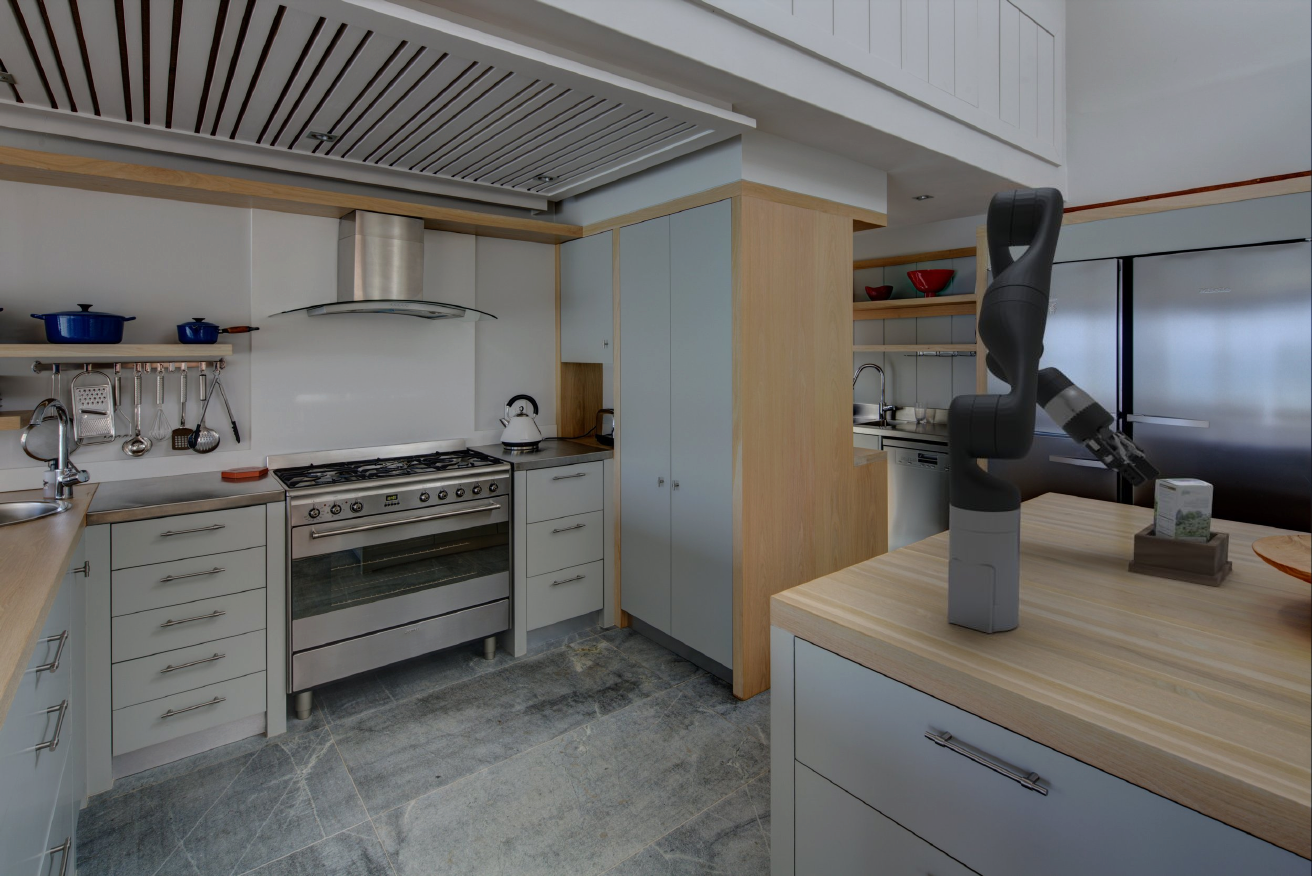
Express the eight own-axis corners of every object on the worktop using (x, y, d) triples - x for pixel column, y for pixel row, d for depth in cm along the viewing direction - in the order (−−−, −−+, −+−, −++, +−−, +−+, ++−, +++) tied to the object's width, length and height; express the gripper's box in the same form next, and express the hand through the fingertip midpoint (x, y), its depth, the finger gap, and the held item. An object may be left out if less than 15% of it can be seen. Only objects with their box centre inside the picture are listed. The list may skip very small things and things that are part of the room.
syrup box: (1185, 557, 116) (1189, 477, 115) (1209, 567, 110) (1214, 483, 109) (1150, 557, 117) (1154, 477, 115) (1173, 567, 111) (1177, 483, 109)
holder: (1216, 586, 105) (1218, 547, 105) (1128, 571, 114) (1129, 535, 114) (1231, 569, 113) (1233, 533, 112) (1147, 556, 122) (1149, 522, 121)
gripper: (1080, 403, 117) (1156, 472, 109) (1107, 398, 126) (1179, 462, 118) (1047, 431, 121) (1118, 499, 114) (1075, 424, 130) (1142, 487, 123)
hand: (1149, 480), depth 116 cm, fingers open, 8 cm apart
